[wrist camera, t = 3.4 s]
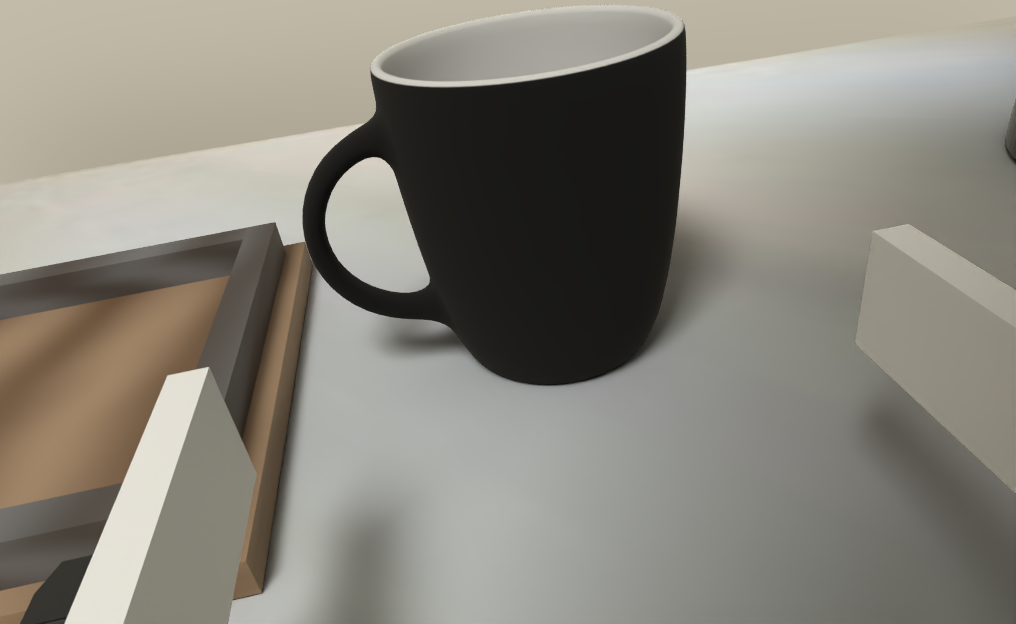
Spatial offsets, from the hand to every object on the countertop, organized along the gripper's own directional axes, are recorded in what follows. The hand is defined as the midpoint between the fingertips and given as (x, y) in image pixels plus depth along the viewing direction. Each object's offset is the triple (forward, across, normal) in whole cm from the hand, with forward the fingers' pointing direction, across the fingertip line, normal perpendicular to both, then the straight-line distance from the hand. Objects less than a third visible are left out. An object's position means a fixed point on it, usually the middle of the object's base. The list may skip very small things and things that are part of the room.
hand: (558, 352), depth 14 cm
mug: (+9, 0, -6) cm, 11 cm away
